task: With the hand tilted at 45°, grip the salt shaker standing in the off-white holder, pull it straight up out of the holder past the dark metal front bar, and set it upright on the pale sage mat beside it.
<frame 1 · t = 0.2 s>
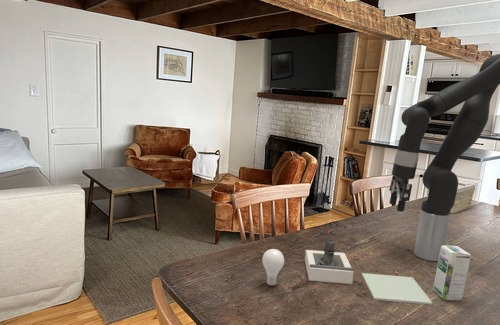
hand: (396, 207, 126), 18 cm above the table, tool pointing down, fingers open, 8 cm apart
salt shaker: (326, 272, 112), resting in holder
lightbulb: (271, 285, 102), on the table
storage basket: (447, 208, 194), on the table
mat: (394, 288, 104), on the table
holder: (327, 271, 112), on the table
syrup box: (447, 295, 103), on the table
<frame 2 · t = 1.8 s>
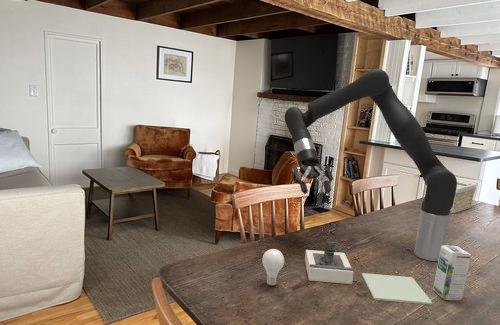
hand: (317, 192, 118), 23 cm above the table, tool tilted 45°, fingers open, 8 cm apart
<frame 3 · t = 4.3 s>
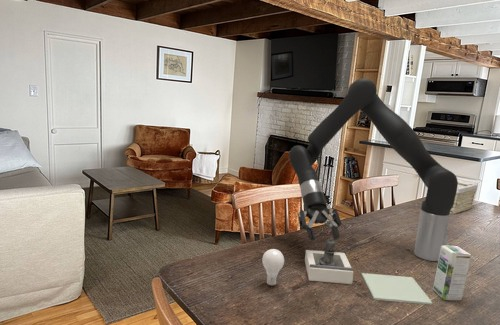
hand: (325, 239, 113), 10 cm above the table, tool tilted 45°, fingers open, 8 cm apart
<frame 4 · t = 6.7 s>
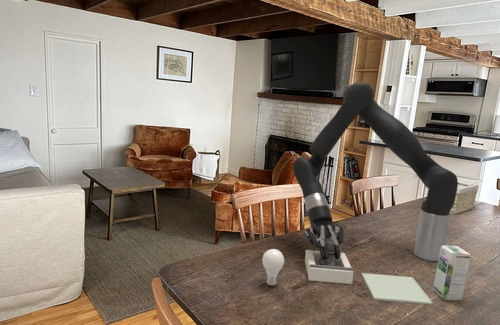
hand: (332, 258, 109), 6 cm above the table, tool tilted 45°, fingers closed on salt shaker, 3 cm apart
salt shaker: (326, 272, 112), resting in holder, touching gripper
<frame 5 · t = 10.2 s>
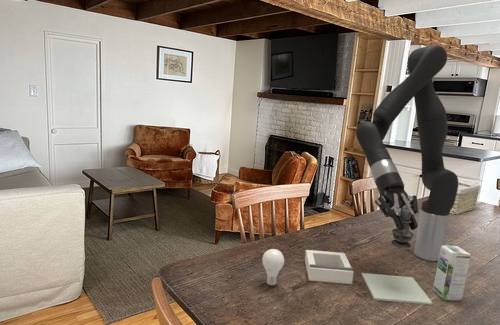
hand: (408, 228, 99), 20 cm above the table, tool tilted 45°, fingers closed on salt shaker, 3 cm apart
salt shaker: (400, 244, 102), point 14 cm above the table, touching gripper
when the fingers open (7 cm above the table, at t = 13.8 s): salt shaker drops 1 cm, resting on mat.
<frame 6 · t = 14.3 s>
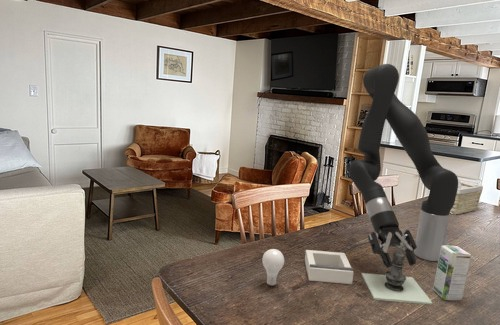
hand: (401, 265, 101), 8 cm above the table, tool tilted 45°, fingers open, 8 cm apart
salt shaker: (393, 287, 104), resting on mat
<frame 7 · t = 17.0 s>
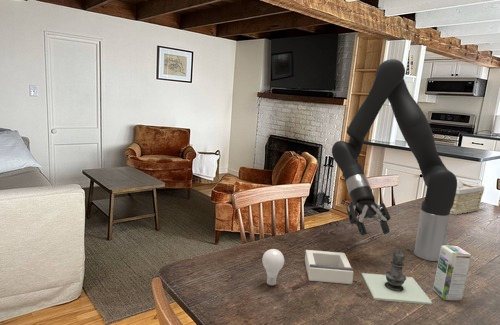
hand: (375, 234, 113), 13 cm above the table, tool tilted 45°, fingers open, 8 cm apart
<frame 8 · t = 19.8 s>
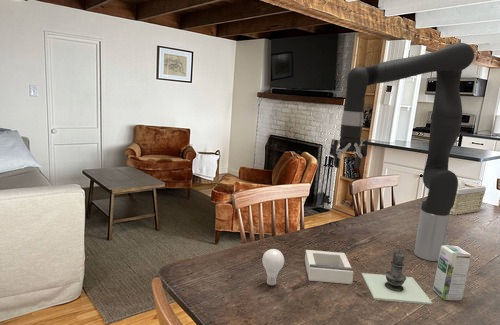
hand: (346, 167, 129), 30 cm above the table, tool pointing down, fingers open, 8 cm apart
at the end: salt shaker inside the target area on the mat (0.2 cm from its centre), point 0.4 cm above the mat's base; salt shaker tilted 0°; the gripper is holding nothing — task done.
